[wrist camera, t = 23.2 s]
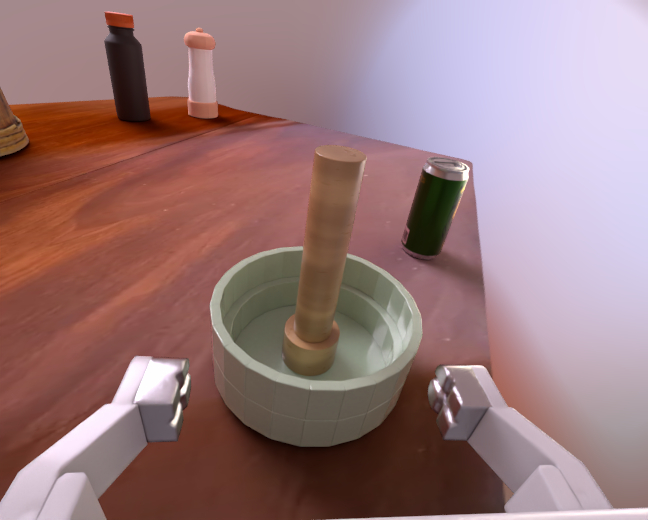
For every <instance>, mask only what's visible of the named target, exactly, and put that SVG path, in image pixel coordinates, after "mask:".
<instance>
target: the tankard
mask: <svg viewBox="0 0 648 520" xmlns="http://www.w3.org/2000/svg"><path fill="white" fill-rule="evenodd" d="M28 143H29V139H28V137H27V135H26V133H25V131H24V129H23V126H22V123H21V121H20V119H19V118H17V117H16V116H15V115H13V113H12V111H11V109H10V107H9V105H8V103H7V101H6V99H5V96H4V94H3V92H2V90H1V88H0V156H3V155H7V154H11V153H14V152H16V151H19V150H21V149H22V148H24V147H25V146H26V145H27V144H28Z"/></svg>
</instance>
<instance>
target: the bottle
mask: <svg viewBox="0 0 648 520" xmlns="http://www.w3.org/2000/svg"><path fill="white" fill-rule="evenodd" d="M105 17H106V23H107V25H109V26H108V28H109V30H110V34H109V35H108V36H107V37H106V39H105V41H104V42H105V48H106V53H107V59H108V65H109V70H110V76H111V82H112V87H113V93H114V99H115V105H116V111H117V116H118V118H120V119H122V120H126V121H146V120H149V119H150V109H149V101H148V94H147V86H146V78H145V70H144V62H143V54H142V46H141V44H140V43H139V42H138V40H137V39H136V38H135V37H134V36H133V31H134V29H133V28H134V23H133V16H132V15H129V14H123V13H116V12H107V11H106V12H105Z"/></svg>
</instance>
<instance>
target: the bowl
mask: <svg viewBox="0 0 648 520" xmlns="http://www.w3.org/2000/svg"><path fill="white" fill-rule="evenodd" d="M302 254H303V246H299V247H284V248H278V249H273V250H269V251H264V252H261V253H258V254H256V255H253V256H251V257H249V258H246V259H244V260H242V261H240V262H239V263H238V264H236V265H235V266H234V267H232V268H231V269H230V270H228V271H227V272H226V273H225V274H224V275H223V277H222V278H221V279H220V281H219V282H218V283H217V285H216V286H215V288H214V292H213V295H212V299H211V302H210V324H211V343H212V362H213V371H214V379H215V384H216V386H217V388H218V390H219V392H220V394H221V396H222V398H223V400H224V403H225V404H226V406H227V407H228V408H229V409H230V410H231V411H232V412H233V413H234V414H235V415H236V416H237V417H238V418H239V419H240V420H241V421H242V422H243V423H244V424H245V425H247V426H248V427H250V428H252V429H254V430H255V431H257V432H259V433H261V434H262V435H264V436H266V437H268V438H270V439H273V440H276V441H280V442H284V443H288V444H292V445H296V446H300V447H330V446H334V445H337V444H341V443H344V442H348V441H351V440H355V439H358V438H360V437H362V436H363V435H365V434H366V433H368V432H370V431H371V430H373V429H374V428H376V427H377V426H379V425H380V424H381V423H382V422H383V421H384V419H385V418H386V417H387V416H388V414H389V413H390V412H391V411H392V410H393V408H394V407H395V405H396V402H397V400H398V397H399V395H400V392H401V390H402V388H403V385H404V383H405V380H406V378H407V375H408V373H409V370H410V368H411V365H412V363H413V360H414V358H415V355H416V353H417V350H418V347H419V344H420V341H421V338H422V335H423V334H422V320H421V315H420V312H419V310H418V308H417V306H416V303H415V301H414V299H413V297H412V296H411V295H410V294H409V293H408V291H407V290H406V289H405V288H404V286H403V285H402V284H401V283H400V282H399V281H398V280H396V279H395V278H394V277H393V276H391V275H390V274H389V273H388V272H386V271H385V270H383V269H381V268H380V267H378V266H376V265H374V264H372V263H370V262H369V261H367V260H365V259H362V258H359V257H357V256H354V255H351V254H348V253H347V257H346V262H345V267H344V272H343V277H342V282H341V287H340V292H339V297H338V302H337V307H336V311H335V316H334V320H335V322H336V323H337V325H338V327H339V330H340V336H339V341H338V345H337V350H336V354H335V359H334V363H333V365H332V366H331V368H330V369H329V370H328V371H326V372H325V373H323V374H320V375H317V376H304V375H300V374H297V373H295V372H293V371H292V370H290V369H289V368H288V367H287V366H286V364H285V363H284V361H283V358H282V347H283V338H284V328H285V323H286V321H287V320H288V319H289V317H291V316H292V315H293V314H295V311H296V303H297V295H298V286H299V278H300V270H301V262H302Z"/></svg>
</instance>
